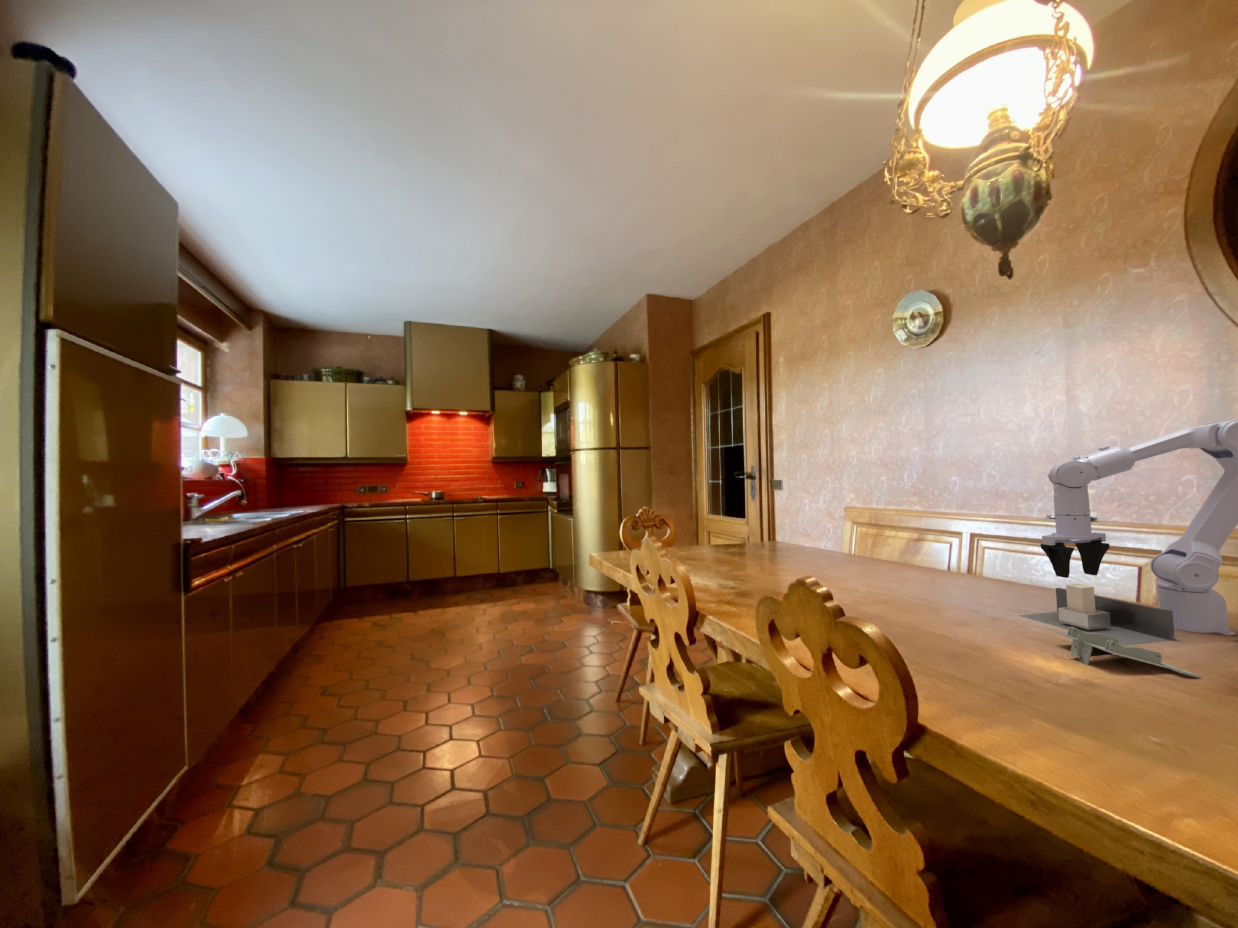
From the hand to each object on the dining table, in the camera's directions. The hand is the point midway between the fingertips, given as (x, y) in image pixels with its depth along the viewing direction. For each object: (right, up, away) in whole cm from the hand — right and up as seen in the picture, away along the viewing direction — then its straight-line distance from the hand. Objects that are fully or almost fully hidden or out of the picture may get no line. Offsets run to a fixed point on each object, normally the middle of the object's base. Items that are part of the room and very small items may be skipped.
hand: (1076, 575), depth 104 cm
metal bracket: (-14, -11, -21) cm, 27 cm away
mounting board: (-3, -10, -6) cm, 12 cm away
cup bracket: (-2, -9, -6) cm, 11 cm away
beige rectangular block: (-4, -8, -6) cm, 11 cm away
